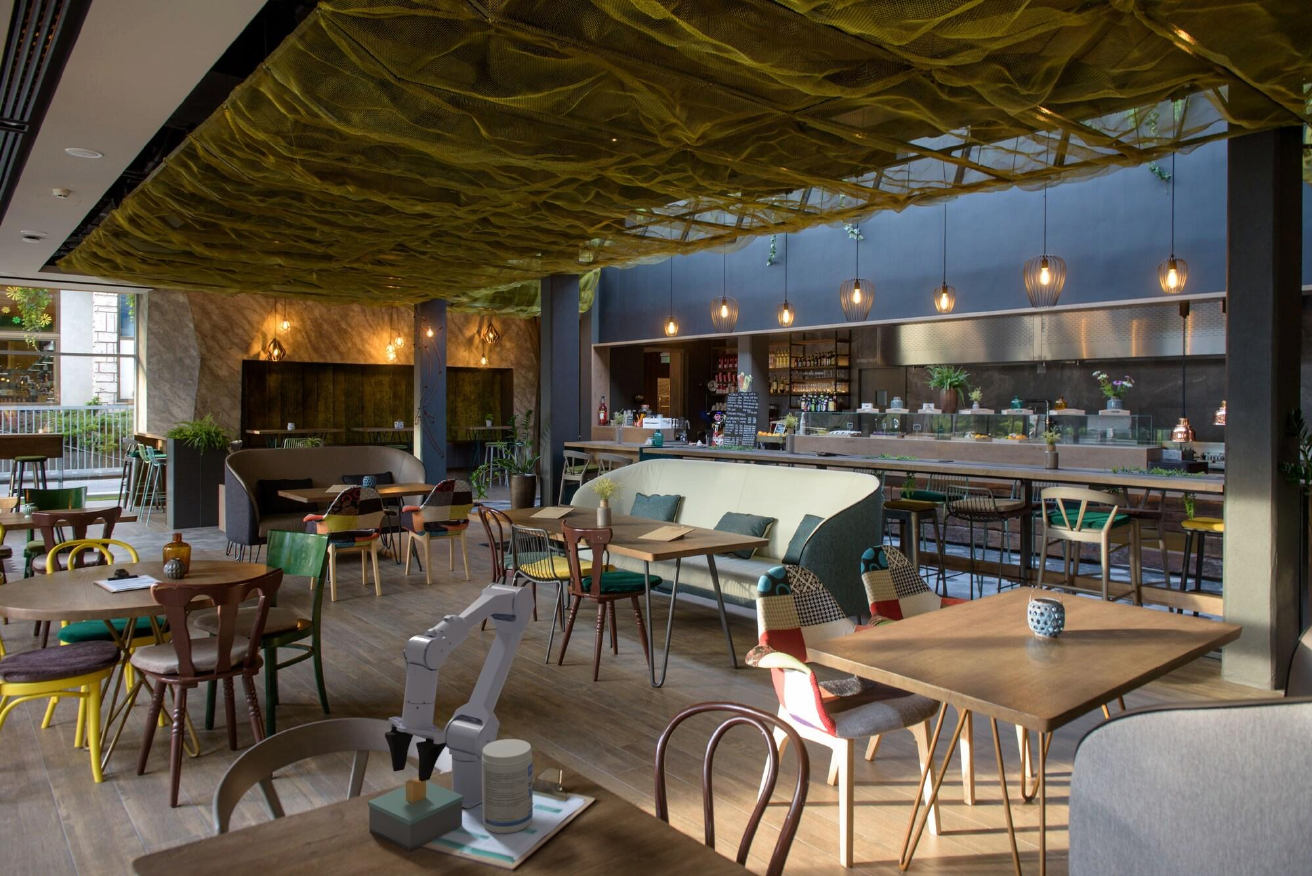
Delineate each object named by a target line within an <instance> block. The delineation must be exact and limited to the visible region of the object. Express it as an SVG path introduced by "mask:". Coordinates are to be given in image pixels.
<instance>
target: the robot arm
mask: <svg viewBox="0 0 1312 876" xmlns="http://www.w3.org/2000/svg"><path fill="white" fill-rule="evenodd" d="M535 607H536V603H535V599H534V594H533V592H532V590H531V588H529V587H528V586H516V585H515V586H514V585H507V584H500V583H498V582H492V583H490V584H489V585H488V586H487V587H484V588H483V589H482V590H481V593H480V596H479V597H478V598H477V599H476V600H475V601H473V602H472V603H471V604H470V605H469V606H468V607H466V609H465V610H464V611H462V612H461V613H460V614H459V615H456V614H450V615H449V614H447V615H444V617H443V620H442V621H440V622H439V623H437V624H436V625H435V626H433V627H432V628H429V629H427V630H426V632H425V633H424V634H423V635H419V634H417V635H414V636H413V637H411V638H410V639H408V641H407V642H406V644H405V646H404V649H403V650H402V651H401V655H402V656H401V657H402V660H403V662H404V665H405V666H404V672H405V674H406V681H405V686H404V687H405V691H404V698H403V705H402V706H403V707H402V716H392V717H388V722H387V729H390V731H386V732H385V733H384V738H385V739H386V742H387V744H388V747H389V752H390V757H391V765H392V769H393V770H392V771H393V772H399V771H404V770H405V768H406V765H407V758H408V752H409V748H410V745H411V742H412V740H413V737H414V736H415V737H418V738H422V739H424V740H423V741H418V742H416V743H415V745H416V749H417V753H418V776H419V781H429V780H431V777H432V774H433V771H434V769H435V766H436V764H437V761H438V760H439V758H440V756H441V754H442V753H443V751H444V749H445V748H447V749H448V754H449V755H450V756H451V791H453V792H455V793H458V794H460V795H463V796H464V800H463V801H462V808H465V809H467V810H468V809H471V808H473V807H475V806H478V805H480V804H482V754H483V748H484V747H485V746H486V745H487V744H489V743H491V742H494V741H497V735H498V730H499V728H500V724H501V723H500V721H499V720H498V717H497V716H496V714H495V712H494V710H495V708H496V705H497V702H498V699H499V697H500V695H501V692H502V689H503V687H504V685H505V682H506V679H507V677H508V674H509V672H510V670H511V666H512V665H513V662H514V659H515V657H516V655H517V652H518V649H519V646H520V644H521V641H522V639H523V637H524V633H525V630H526V629H527V626H528V624H529V622H530V619H531V616H532V614H533V612H534V609H535ZM488 618H489V620H490V621H491V623H492V625H493V626H495V628H496V631H497V632H496V635H495V637H494V640H493V642H492V645H491V647H490V649H489V651H488V654H487V657H486V659H485V662H484V664H483V667H482V669H481V671H480V674H479V676H478V679H477V680H476V683H475V686H474V688H473V691H472V693H471V696H470V698H469V700H468V702H467V703H465V704H463V705H462V706H460V707H458V708H457V709H455V711H454V714H453V715H452V717H451V719H450V720H449V721H448V722H447V723H446V724H445V727H444V730H442V729H440V728H439V727H438V726H436V725H435V724H433V723H434V716H435V714H434V713H435V706H436V695H437V687H438V679H439V669H440V668H442V667H443V666H444V664H445V663H446V661H447V658H448V656H449V655H450V654H451V652H452V650H454V649H455V648H457V647H458V646H459V645H460V644H462V643H463V642H464V641H465V640H467V638H469V634H470V629H472V628H473V627H475V626H477V625H478V624H479V623H481V622H483V621H484V620H486V619H488ZM418 776H417V777H418Z"/></svg>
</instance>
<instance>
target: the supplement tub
mask: <svg viewBox="0 0 1312 876" xmlns="http://www.w3.org/2000/svg"><path fill="white" fill-rule="evenodd" d="M533 784H534V783H533V752H532V746H531V744H530V743H529V742H528V741H526V740H523V739H515V738H511V739H510V738H509V739H498V740H496V741H494V742H491V743H489V744H487V745H486V746H485V747H484V748H483V754H482V803H481V806H482V807H481V810H482V811H481V812H482V815H481V816H482V824H483V826H484V828H485V829H487V830H488V831H491V832H492V833H495V834H511V833H517V832H519V831H522V830H524V829H526V828H527V827H528V826H530V825H531V823H532V822H533V814H534V813H533V812H534V810H533V804H534V800H533V799H534V797H533V790H534V789H533V788H534V787H533Z"/></svg>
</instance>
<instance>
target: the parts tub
mask: <svg viewBox="0 0 1312 876" xmlns="http://www.w3.org/2000/svg"><path fill="white" fill-rule="evenodd" d="M368 807H369V806H368ZM368 810H369V813H368V814H369V815H368V817H369V820H368V821H369V826H368V827H369V833H371V834H373V835H375V836H377V837H380V838H381V839H383V840H385V841H387V842H389V843H390V844H391V843H392V844H394V846H395V845H396V847H400V848H401V849H403V850H405V851H408V852H410V853H411V852H413V851H415V850H417V849H419V848H421V847H423V846H425V845H427V844H429V843H431V842H433V841H435V840H437V839H439V838H441V837H444V836H445V835H447V834H449V833H451V832H453V831H455V830H457V829H460V828H461V827H463V807H462V801H460V802H458V803H456V804H454V805H452V806H450V807H448V808H446V809H443V810H441V811H439V812H437V813H435V814H433V815H431V816H428V817H426V818H424V819H422V820H420V821H418V822H416V823H414V824H411V825H408V824H406V823H404V822H402V821H400V820H398V819H395V818H393V817H391V816H389V815H387V814H385V813H382V812H380V811H378V810H376V809H374V808H372V807H369V809H368Z"/></svg>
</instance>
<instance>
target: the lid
mask: <svg viewBox="0 0 1312 876" xmlns="http://www.w3.org/2000/svg"><path fill="white" fill-rule="evenodd" d="M463 800H464V796H463V795H460V794H458V793H455V792H453V791H452V790H451V789H447V788H445V787H442V786H440V785H439V784H435V783H433V782H430V781H429V780H426V781H419V776H415V777H413V778H411V779H409V780H406V781H405V785H403V786H402V787H399V788H396V789H394V790H392V791H390V792H387V793H385V794H382V795H379V796H377V797H376V798H372V799H370V800H368V801H367V806H368V807H372V808H374V809H376V810H378V811H380V812H382V813H385V814H387V815H389V816H391V817H393V818H395V819H398V820H400V821H402V822H404V823H406V824H408V825H411V824H414V823H416V822H418V821H420V820H422V819H424V818H426V817H428V816H431V815H433V814H435V813H437V812H439V811H441V810H443V809H446V808H448V807H450V806H452V805H454V804H456V803H458V802H460V801H463Z"/></svg>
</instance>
